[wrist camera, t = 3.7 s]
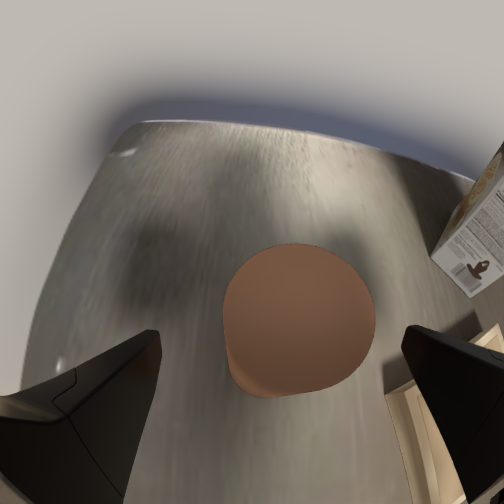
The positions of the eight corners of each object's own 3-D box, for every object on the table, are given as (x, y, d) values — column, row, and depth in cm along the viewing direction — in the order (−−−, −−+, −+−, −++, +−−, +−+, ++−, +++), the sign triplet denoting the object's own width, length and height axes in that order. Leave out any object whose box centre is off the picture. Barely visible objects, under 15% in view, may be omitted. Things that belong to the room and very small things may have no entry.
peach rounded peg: (239, 406, 15) (247, 412, 6) (220, 337, 17) (207, 259, 8) (310, 385, 16) (395, 357, 7) (289, 320, 18) (341, 232, 9)
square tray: (415, 517, 9) (434, 524, 7) (384, 395, 15) (404, 391, 13) (505, 436, 12) (523, 434, 9) (479, 332, 17) (498, 323, 15)
